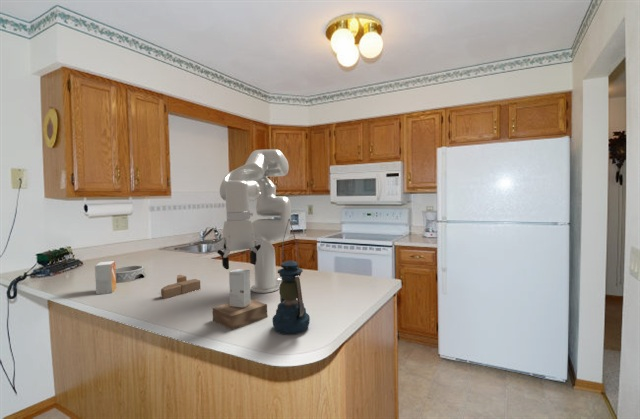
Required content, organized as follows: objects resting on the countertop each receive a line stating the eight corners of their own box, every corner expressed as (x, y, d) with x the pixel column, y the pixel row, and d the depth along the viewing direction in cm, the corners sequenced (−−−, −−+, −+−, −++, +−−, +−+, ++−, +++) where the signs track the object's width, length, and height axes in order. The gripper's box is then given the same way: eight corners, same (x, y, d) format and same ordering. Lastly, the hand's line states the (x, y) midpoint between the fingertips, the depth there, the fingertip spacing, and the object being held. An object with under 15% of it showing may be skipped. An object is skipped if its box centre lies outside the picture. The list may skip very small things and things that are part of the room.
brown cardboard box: (247, 310, 122) (246, 297, 122) (267, 318, 114) (266, 304, 114) (212, 322, 112) (212, 307, 111) (232, 331, 104) (232, 316, 103)
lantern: (265, 324, 107) (262, 218, 105) (297, 316, 113) (295, 216, 112) (284, 340, 95) (281, 221, 93) (318, 331, 101) (316, 218, 100)
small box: (112, 292, 146) (111, 264, 146) (95, 294, 144) (94, 265, 143) (116, 288, 154) (115, 260, 153) (101, 289, 152) (99, 261, 151)
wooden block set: (202, 277, 150) (163, 287, 135) (202, 289, 150) (164, 300, 136) (182, 272, 160) (144, 280, 145) (182, 283, 160) (144, 293, 146)
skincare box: (229, 306, 112) (227, 271, 112) (237, 302, 116) (235, 268, 116) (244, 308, 110) (242, 272, 110) (252, 303, 114) (250, 269, 114)
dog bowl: (98, 282, 166) (97, 272, 166) (128, 273, 183) (128, 264, 183) (124, 284, 161) (124, 273, 161) (153, 275, 179) (152, 265, 178)
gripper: (256, 214, 119) (258, 260, 121) (209, 218, 109) (211, 268, 111) (266, 215, 113) (267, 264, 115) (216, 219, 103) (218, 272, 105)
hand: (240, 266), depth 113 cm, fingers open, 9 cm apart
